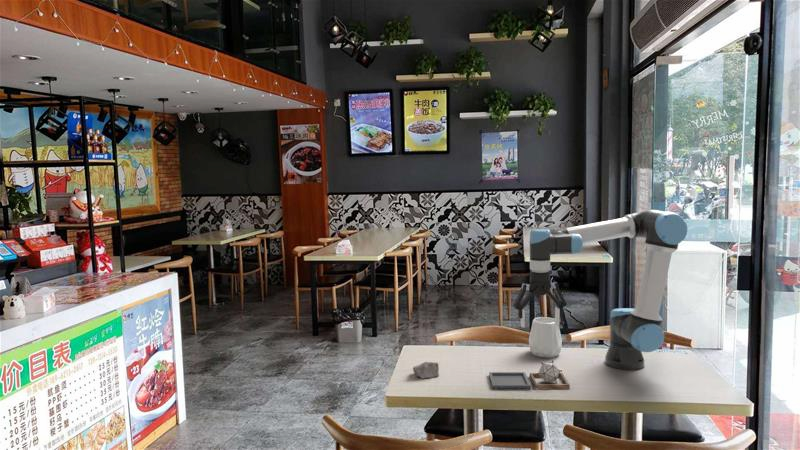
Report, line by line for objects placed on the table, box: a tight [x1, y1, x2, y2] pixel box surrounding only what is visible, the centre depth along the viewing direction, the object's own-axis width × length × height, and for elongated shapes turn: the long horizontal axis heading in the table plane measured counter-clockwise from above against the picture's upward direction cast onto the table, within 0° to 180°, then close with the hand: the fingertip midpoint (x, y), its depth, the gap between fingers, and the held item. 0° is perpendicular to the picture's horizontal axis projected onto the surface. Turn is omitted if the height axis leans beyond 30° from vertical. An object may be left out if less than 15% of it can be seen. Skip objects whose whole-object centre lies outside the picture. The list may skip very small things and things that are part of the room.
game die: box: [536, 360, 563, 384], centre depth 229 cm, size 9×8×10 cm
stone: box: [412, 361, 440, 380], centre depth 239 cm, size 10×8×6 cm
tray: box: [488, 371, 532, 390], centre depth 230 cm, size 14×14×2 cm
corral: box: [529, 372, 571, 390], centre depth 230 cm, size 13×13×2 cm
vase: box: [528, 316, 563, 359], centre depth 262 cm, size 14×14×15 cm
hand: (540, 325), depth 230 cm, fingers open, 13 cm apart
